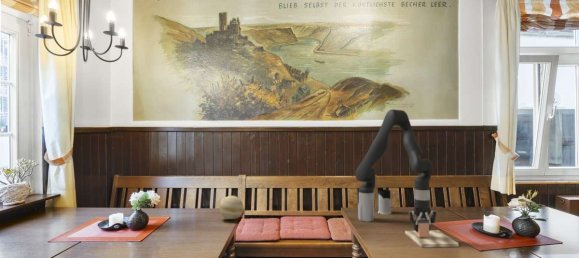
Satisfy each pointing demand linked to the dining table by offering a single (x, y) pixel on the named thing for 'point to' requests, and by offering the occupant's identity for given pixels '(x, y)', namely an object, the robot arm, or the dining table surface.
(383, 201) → the glass holder
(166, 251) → the dining table surface
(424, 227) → the block
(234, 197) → the decorative ball
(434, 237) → the board
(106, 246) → the dining table surface
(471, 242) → the dining table surface
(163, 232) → the dining table surface
